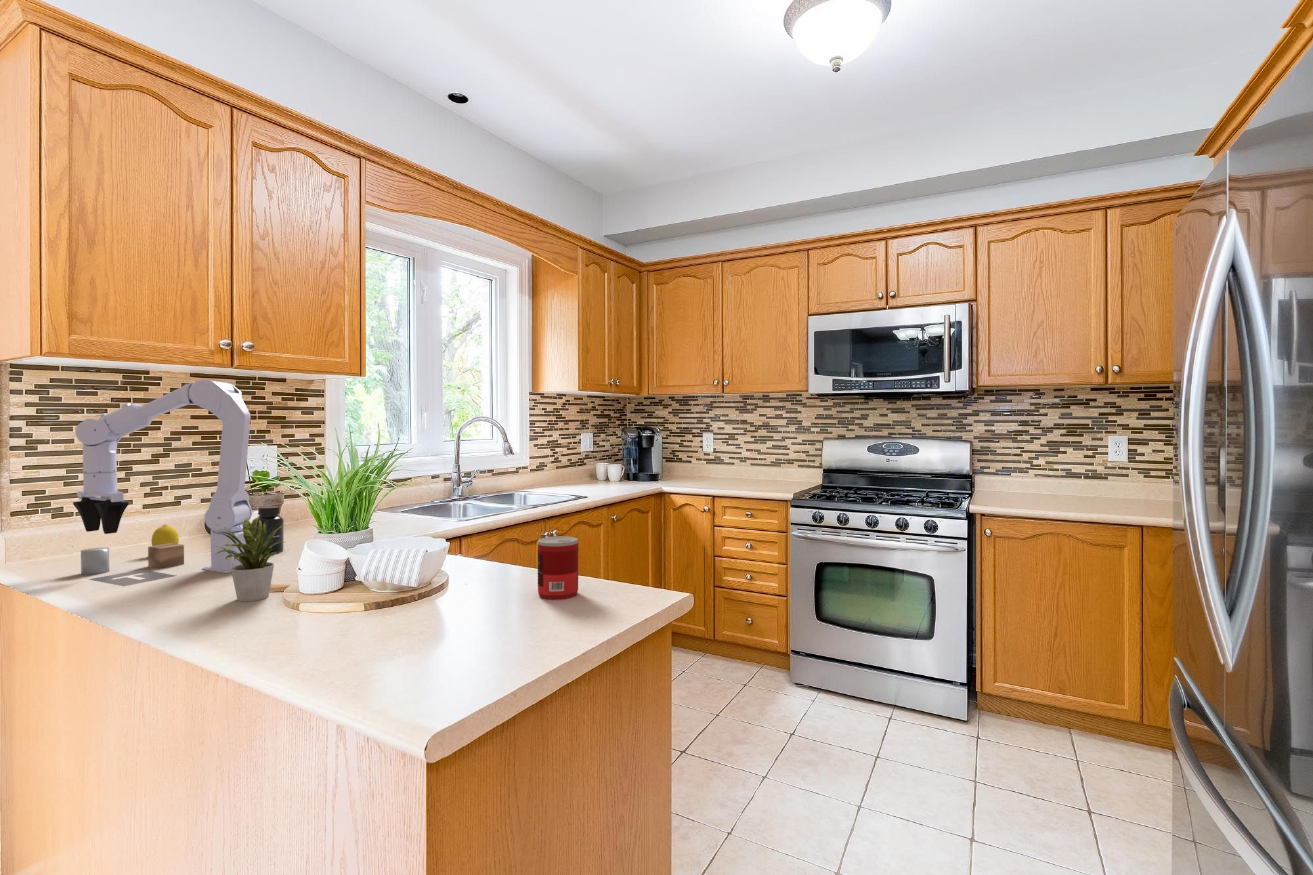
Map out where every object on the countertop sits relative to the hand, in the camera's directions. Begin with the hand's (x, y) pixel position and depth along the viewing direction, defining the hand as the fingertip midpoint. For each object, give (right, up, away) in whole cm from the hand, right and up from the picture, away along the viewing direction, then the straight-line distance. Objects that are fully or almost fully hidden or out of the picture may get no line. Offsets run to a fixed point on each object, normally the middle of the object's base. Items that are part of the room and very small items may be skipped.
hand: (101, 532), depth 142 cm
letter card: (+11, -9, -5) cm, 16 cm away
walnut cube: (+9, -9, +7) cm, 15 cm away
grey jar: (-1, -9, 0) cm, 9 cm away
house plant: (+46, -10, -20) cm, 51 cm away
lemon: (-1, -9, +19) cm, 21 cm away
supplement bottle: (+23, -9, +24) cm, 35 cm away
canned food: (+107, -10, -18) cm, 109 cm away
